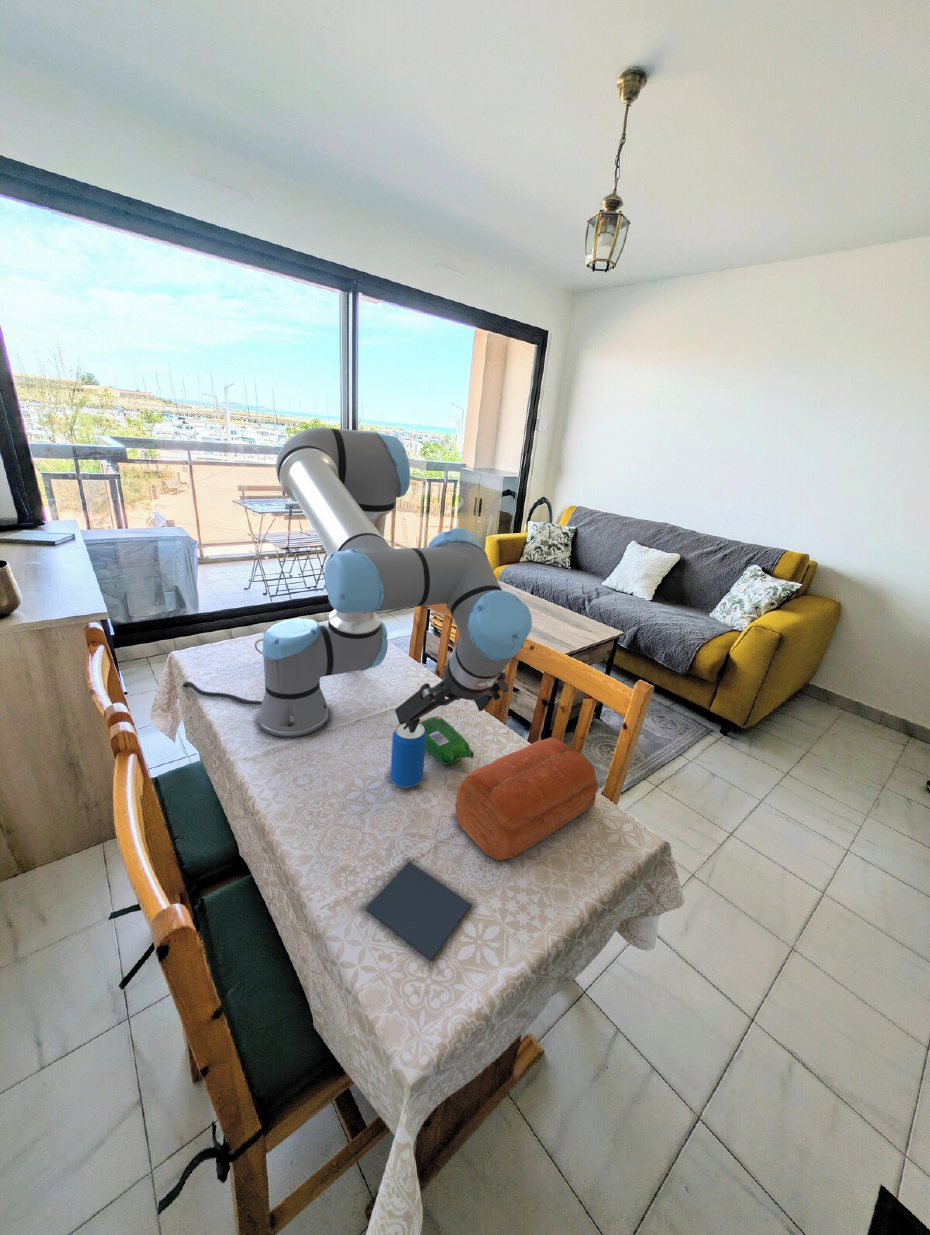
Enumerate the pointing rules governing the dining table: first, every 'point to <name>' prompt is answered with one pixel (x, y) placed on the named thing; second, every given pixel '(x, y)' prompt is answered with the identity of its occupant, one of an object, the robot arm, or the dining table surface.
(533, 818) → the bread
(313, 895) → the dining table surface
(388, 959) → the dining table surface
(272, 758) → the dining table surface
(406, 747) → the beverage can
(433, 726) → the snack package
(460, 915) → the slate mat
